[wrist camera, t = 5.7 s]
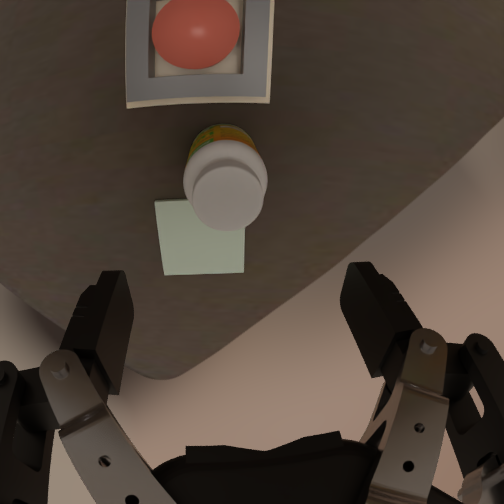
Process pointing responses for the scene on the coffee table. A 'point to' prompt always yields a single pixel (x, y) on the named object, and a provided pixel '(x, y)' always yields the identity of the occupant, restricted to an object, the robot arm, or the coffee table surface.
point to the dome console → (199, 80)
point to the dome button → (195, 32)
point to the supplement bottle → (225, 178)
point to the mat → (195, 242)
